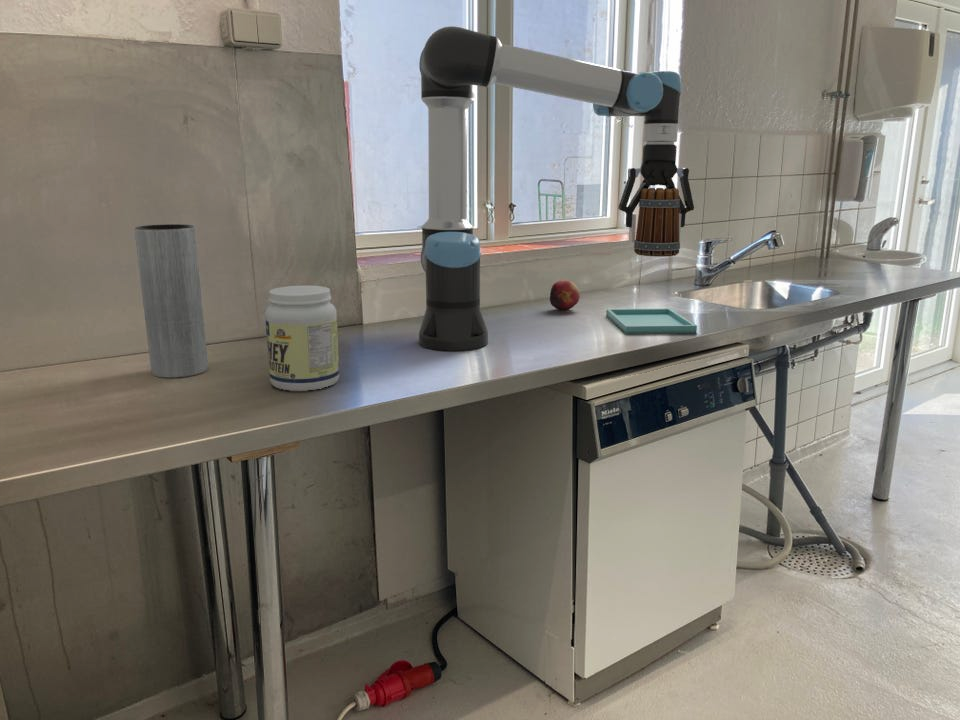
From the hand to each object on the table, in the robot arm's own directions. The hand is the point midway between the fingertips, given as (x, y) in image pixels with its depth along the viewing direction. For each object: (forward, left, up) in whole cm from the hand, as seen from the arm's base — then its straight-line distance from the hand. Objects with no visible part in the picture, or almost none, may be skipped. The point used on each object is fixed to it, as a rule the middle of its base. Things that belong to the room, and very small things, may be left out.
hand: (653, 241), depth 175 cm
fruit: (-18, +18, -20) cm, 33 cm away
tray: (0, 0, -20) cm, 20 cm away
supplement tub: (-75, -46, -20) cm, 90 cm away
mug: (+1, 0, -3) cm, 3 cm away
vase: (-100, -37, -20) cm, 109 cm away
